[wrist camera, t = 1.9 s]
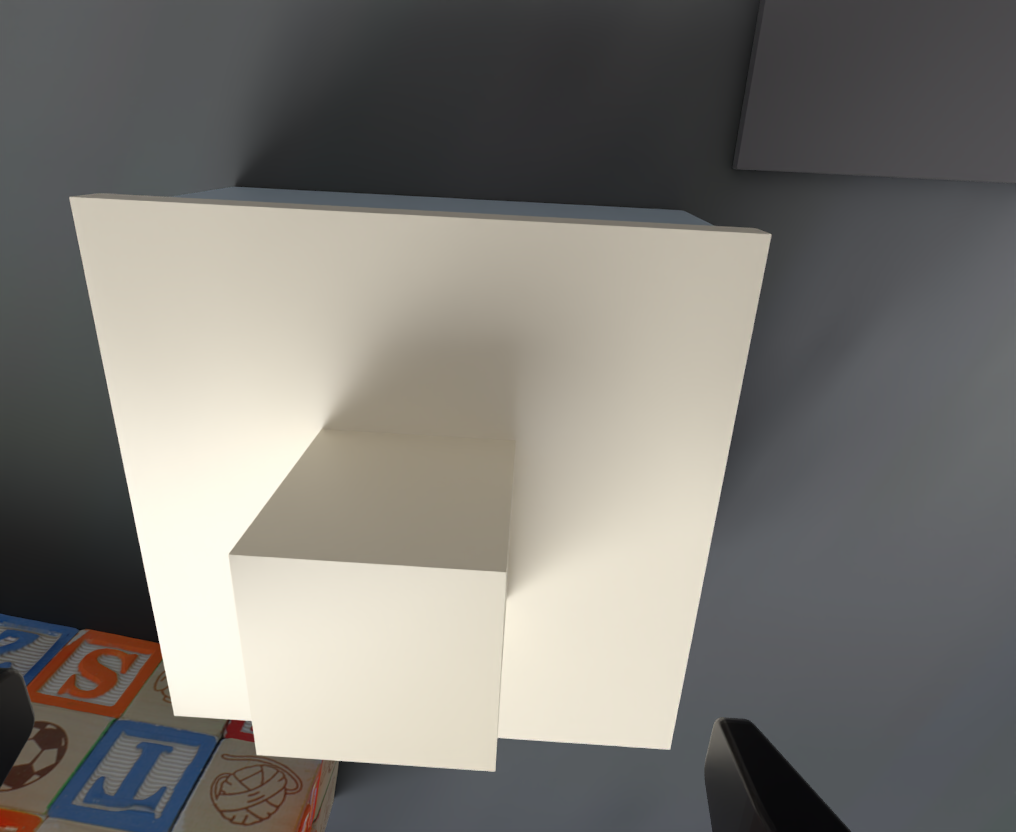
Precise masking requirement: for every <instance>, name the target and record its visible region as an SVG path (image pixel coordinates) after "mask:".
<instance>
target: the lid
mask: <svg viewBox="0 0 1016 832" xmlns="http://www.w3.org/2000/svg"><path fill="white" fill-rule="evenodd" d="M69 198H70V203H71V208H72V213H73V218H74V223H75V228H76V233H77V238H78V243H79V248H80V253H81V258H82V262H83V267H84V272H85V277H86V282H87V287H88V292H89V297H90V302H91V307H92V312H93V317H94V322H95V327H96V332H97V337H98V341H99V346H100V351H101V356H102V361H103V366H104V371H105V376H106V381H107V386H108V391H109V396H110V401H111V406H112V411H113V416H114V420H115V425H116V430H117V435H118V440H119V445H120V450H121V455H122V460H123V465H124V470H125V475H126V480H127V485H128V490H129V495H130V500H131V504H132V509H133V514H134V519H135V524H136V529H137V534H138V539H139V544H140V549H141V554H142V559H143V564H144V569H145V574H146V579H147V583H148V588H149V593H150V598H151V603H152V608H153V613H154V618H155V623H156V628H157V633H158V638H159V643H160V648H161V653H162V658H163V662H164V667H165V672H166V677H167V682H168V687H169V692H170V697H171V702H172V707H173V712H174V716H187V717H201V718H216V719H230V720H245V721H252V726H253V733H254V740H255V747H256V754H257V755H263V756H278V757H292V758H306V759H321V760H335V761H350V762H364V763H378V764H393V765H407V766H422V767H436V768H450V769H465V770H479V771H493V772H495V767H496V752H497V738H508V739H522V740H537V741H552V742H566V743H581V744H595V745H610V746H625V747H639V748H654V749H668V750H670V747H671V742H672V737H673V732H674V727H675V722H676V717H677V712H678V707H679V701H680V696H681V691H682V686H683V681H684V676H685V671H686V666H687V661H688V656H689V651H690V646H691V641H692V636H693V630H694V625H695V620H696V615H697V610H698V605H699V600H700V595H701V590H702V585H703V580H704V575H705V570H706V565H707V559H708V554H709V549H710V544H711V539H712V534H713V529H714V524H715V519H716V514H717V509H718V504H719V499H720V493H721V488H722V483H723V478H724V473H725V468H726V463H727V458H728V453H729V448H730V443H731V438H732V433H733V428H734V422H735V417H736V412H737V407H738V402H739V397H740V392H741V387H742V382H743V377H744V372H745V367H746V362H747V357H748V351H749V346H750V341H751V336H752V331H753V326H754V321H755V316H756V311H757V306H758V301H759V296H760V291H761V286H762V280H763V275H764V270H765V265H766V260H767V255H768V250H769V245H770V240H771V235H772V234H770V233H767V232H765V231H762V230H760V229H757V228H745V227H727V226H708V225H689V224H670V223H651V222H632V221H614V220H595V219H576V218H557V217H538V216H519V215H501V214H482V213H463V212H444V211H425V210H406V209H388V208H369V207H350V206H331V205H312V204H294V203H275V202H256V201H237V200H218V199H199V198H181V197H162V196H143V195H124V194H105V193H97V194H89V195H81V196H73V197H69Z"/></svg>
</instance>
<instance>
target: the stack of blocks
mask: <svg viewBox="0 0 1016 832" xmlns="http://www.w3.org/2000/svg"><path fill="white" fill-rule="evenodd" d="M0 668H13V669H17V670H18V671H19V672H21V674H22V675H23V677H24V681H25V684H26V687H27V690H28V693H29V696H30V700H31V703H32V706H33V709H34V713H35V722H34V727H33V730H32V733H31V735H30V737H29V739H28V741H27V742H26V744H25V746H24V748H23V749H22V751H21V753H20V755H19V756H18V758H17V760H16V762H15V763H14V765H13V767H12V769H11V770H10V772H9V774H8V776H7V777H6V779H5V781H4V783H3V784H2V786H1V788H0V832H325V828H326V825H327V822H328V818H329V815H330V811H331V808H332V804H333V801H334V793H335V786H336V779H337V772H338V765H339V761H335V760H321V759H306V758H292V757H278V756H263V755H257V754H256V747H255V740H254V733H253V726H252V721H245V720H230V719H216V718H201V717H187V716H174V712H173V707H172V702H171V697H170V692H169V687H168V682H167V677H166V672H165V667H164V662H163V658H162V653H161V648H160V643H156V642H152V641H146V640H141V639H135V638H130V637H126V636H121V635H116V634H112V633H106V632H100V631H96V630H91V629H84V630H78V629H76V628H72V627H67V626H62V625H56V624H50V623H45V622H40V621H35V620H29V619H24V618H19V617H14V616H9V615H4V614H0Z"/></svg>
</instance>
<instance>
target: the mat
mask: <svg viewBox="0 0 1016 832" xmlns="http://www.w3.org/2000/svg"><path fill="white" fill-rule="evenodd" d="M732 169H743V170H763V171H782V172H801V173H821V174H840V175H860V176H879V177H899V178H918V179H938V180H957V181H976V182H996V183H1015V184H1016V0H760V5H759V11H758V17H757V23H756V29H755V35H754V41H753V47H752V53H751V58H750V64H749V70H748V76H747V82H746V88H745V94H744V100H743V106H742V112H741V118H740V124H739V130H738V136H737V142H736V148H735V154H734V160H733V166H732Z"/></svg>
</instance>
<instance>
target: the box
mask: <svg viewBox="0 0 1016 832" xmlns="http://www.w3.org/2000/svg"><path fill="white" fill-rule="evenodd" d="M171 197H181V198H199V199H218V200H237V201H256V202H275V203H294V204H312V205H331V206H350V207H369V208H388V209H406V210H425V211H444V212H463V213H482V214H501V215H519V216H538V217H557V218H576V219H595V220H614V221H632V222H651V223H670V224H689V225H708V226H714V225H712V224H710V223H708V222H706V221H704V220H702V219H700V218H698V217H696V216H694V215H692V214H690V213H688V212H686V211H683V210H667V209H648V208H629V207H610V206H591V205H572V204H553V203H535V202H516V201H497V200H478V199H459V198H440V197H421V196H402V195H383V194H364V193H345V192H326V191H307V190H288V189H269V188H250V187H228V188H222V189H215V190H209V191H203V192H196V193H190V194H184V195H177V196H171Z"/></svg>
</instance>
